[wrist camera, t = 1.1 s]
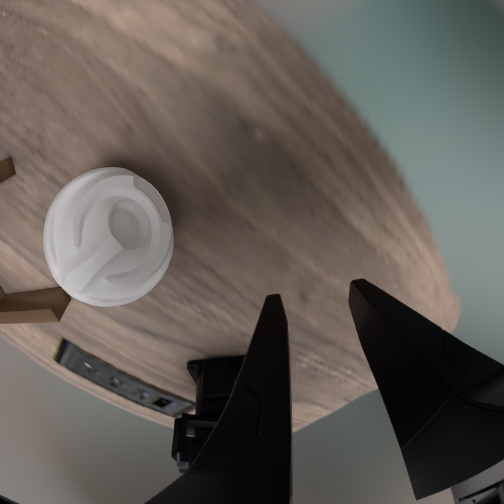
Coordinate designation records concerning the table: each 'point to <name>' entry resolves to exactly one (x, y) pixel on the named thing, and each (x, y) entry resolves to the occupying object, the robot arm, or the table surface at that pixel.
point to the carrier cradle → (34, 302)
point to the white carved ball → (108, 237)
